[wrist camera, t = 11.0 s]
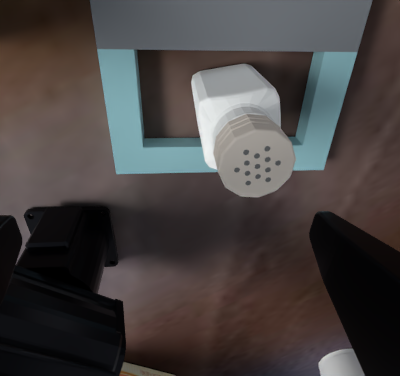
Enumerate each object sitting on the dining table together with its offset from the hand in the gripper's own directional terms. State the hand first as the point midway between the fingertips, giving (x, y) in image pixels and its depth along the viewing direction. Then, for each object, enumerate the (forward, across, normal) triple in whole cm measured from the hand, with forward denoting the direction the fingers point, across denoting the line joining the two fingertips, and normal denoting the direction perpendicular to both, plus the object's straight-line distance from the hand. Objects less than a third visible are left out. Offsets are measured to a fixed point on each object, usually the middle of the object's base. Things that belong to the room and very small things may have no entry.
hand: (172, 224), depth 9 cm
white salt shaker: (+13, -4, 0) cm, 13 cm away
